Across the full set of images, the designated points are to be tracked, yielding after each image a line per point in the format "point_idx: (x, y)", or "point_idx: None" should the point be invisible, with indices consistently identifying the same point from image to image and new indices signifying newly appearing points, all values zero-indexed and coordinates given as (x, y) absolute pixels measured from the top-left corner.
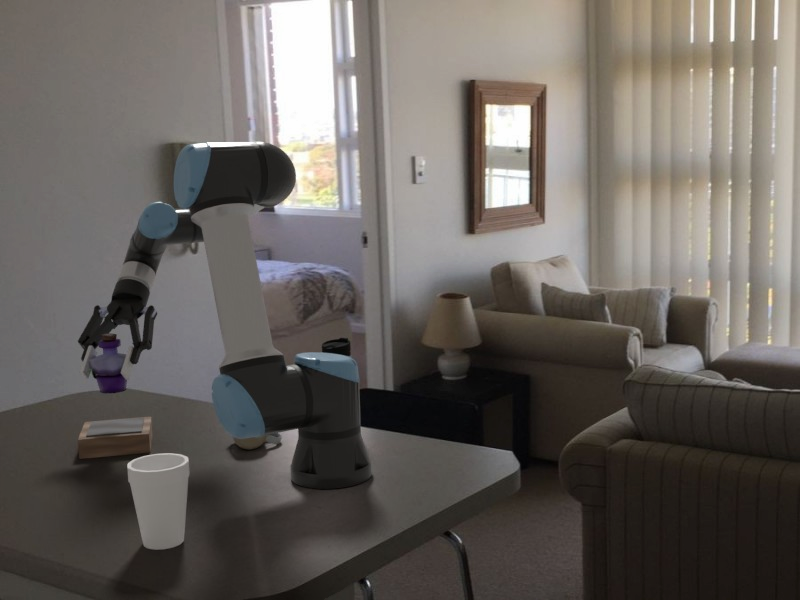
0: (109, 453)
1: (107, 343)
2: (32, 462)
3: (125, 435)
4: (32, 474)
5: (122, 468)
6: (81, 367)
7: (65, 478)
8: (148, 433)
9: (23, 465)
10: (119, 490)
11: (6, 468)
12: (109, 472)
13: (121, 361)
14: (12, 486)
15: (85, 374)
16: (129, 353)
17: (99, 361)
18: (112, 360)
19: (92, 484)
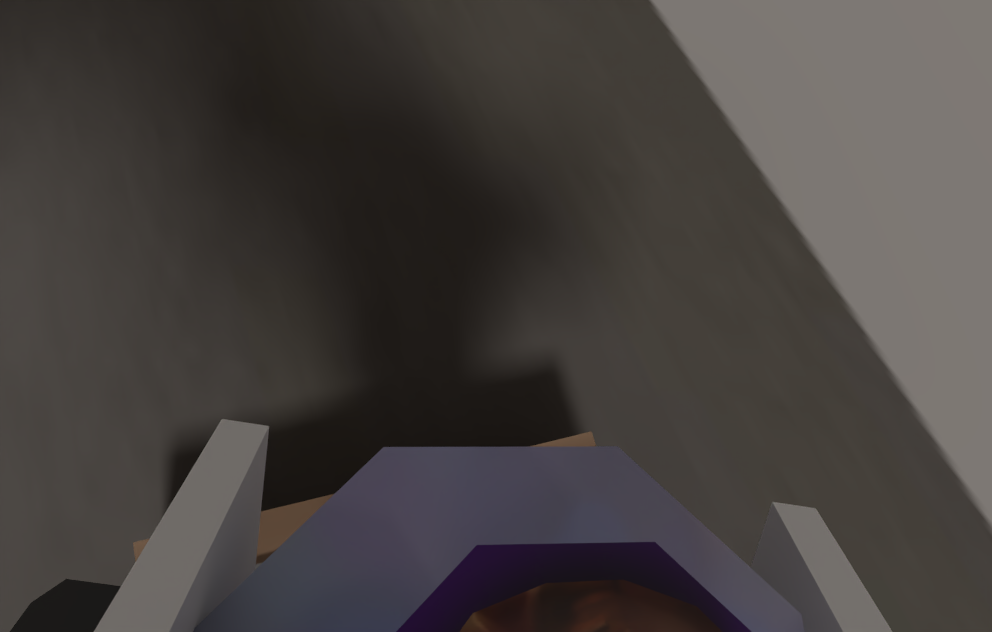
0: None
1: (538, 550)
2: (793, 420)
3: (299, 508)
4: (691, 240)
5: (267, 288)
6: (835, 546)
7: (507, 174)
8: (138, 551)
9: (811, 374)
10: (204, 12)
11: (867, 335)
12: (319, 235)
13: (275, 556)
14: (694, 104)
15: (755, 567)
16: (117, 620)
17: (586, 464)
18: (398, 487)
19: (350, 90)
